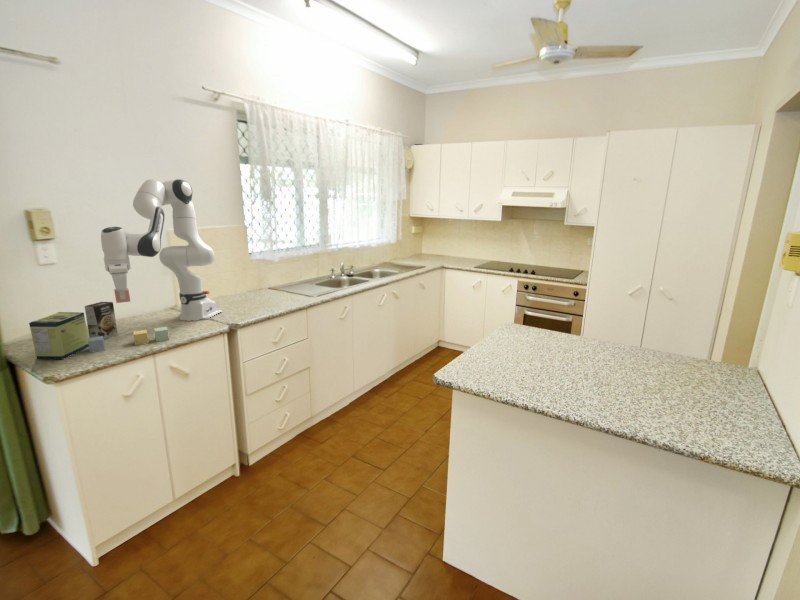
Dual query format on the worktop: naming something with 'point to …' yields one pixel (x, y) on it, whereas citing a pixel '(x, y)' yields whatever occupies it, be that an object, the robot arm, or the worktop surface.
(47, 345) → the protein box
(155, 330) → the sage block
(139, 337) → the ochre block
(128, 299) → the terracotta block
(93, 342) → the slate block
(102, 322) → the coffee box
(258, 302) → the worktop surface
